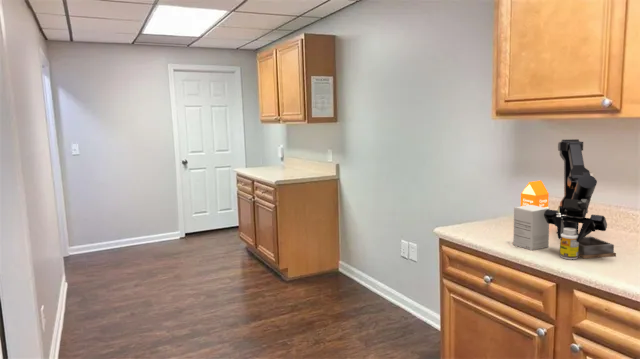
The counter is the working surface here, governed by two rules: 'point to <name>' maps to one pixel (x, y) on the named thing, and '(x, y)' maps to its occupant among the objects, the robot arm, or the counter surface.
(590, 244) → the tray
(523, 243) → the supplement box
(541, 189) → the orange juice
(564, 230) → the supplement bottle
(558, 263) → the counter surface
